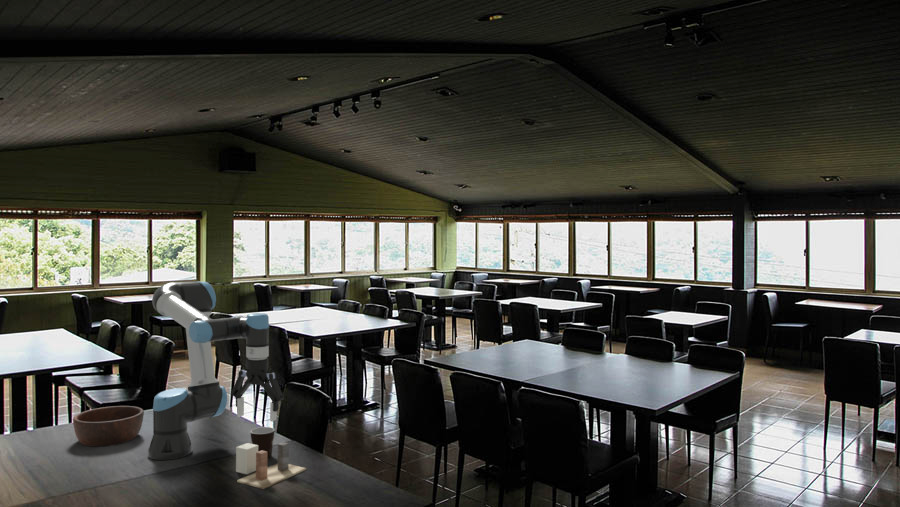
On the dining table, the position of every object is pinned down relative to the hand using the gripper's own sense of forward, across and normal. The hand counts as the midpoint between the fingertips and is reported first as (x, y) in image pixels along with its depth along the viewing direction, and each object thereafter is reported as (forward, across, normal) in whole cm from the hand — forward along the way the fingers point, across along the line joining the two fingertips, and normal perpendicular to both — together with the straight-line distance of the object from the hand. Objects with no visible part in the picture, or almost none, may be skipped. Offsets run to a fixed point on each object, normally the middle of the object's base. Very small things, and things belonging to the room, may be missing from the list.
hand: (256, 418), depth 220 cm
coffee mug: (+18, -6, +13) cm, 23 cm away
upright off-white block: (+18, -2, -2) cm, 18 cm away
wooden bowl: (+19, -76, +8) cm, 78 cm away
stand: (+18, +9, -3) cm, 20 cm away
